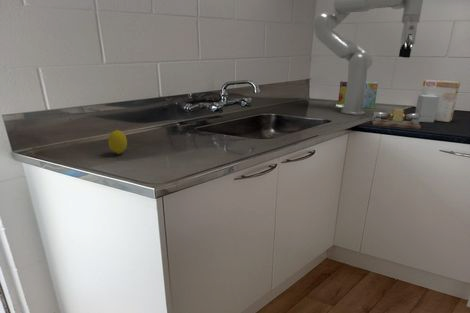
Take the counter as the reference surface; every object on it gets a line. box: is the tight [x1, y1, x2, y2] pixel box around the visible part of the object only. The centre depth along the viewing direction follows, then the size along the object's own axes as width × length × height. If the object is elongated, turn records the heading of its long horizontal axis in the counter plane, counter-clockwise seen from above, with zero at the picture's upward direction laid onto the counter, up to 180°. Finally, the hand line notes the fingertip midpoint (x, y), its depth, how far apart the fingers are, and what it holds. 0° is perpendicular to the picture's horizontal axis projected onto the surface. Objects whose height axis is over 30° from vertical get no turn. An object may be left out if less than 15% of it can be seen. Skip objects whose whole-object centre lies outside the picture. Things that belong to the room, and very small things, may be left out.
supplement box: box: [414, 94, 439, 123], centre depth 170 cm, size 7×7×13 cm
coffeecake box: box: [420, 78, 461, 123], centre depth 172 cm, size 15×7×20 cm, turn 48°
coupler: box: [388, 108, 406, 122], centre depth 159 cm, size 6×5×6 cm
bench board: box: [370, 118, 422, 130], centre depth 160 cm, size 20×10×1 cm, turn 74°
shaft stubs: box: [372, 111, 421, 125], centre depth 160 cm, size 20×8×6 cm, turn 74°
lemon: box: [107, 129, 128, 155], centre depth 107 cm, size 6×6×8 cm
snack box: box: [337, 80, 379, 109], centre depth 205 cm, size 21×6×15 cm, turn 66°
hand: (404, 57), depth 167 cm, fingers open, 9 cm apart
